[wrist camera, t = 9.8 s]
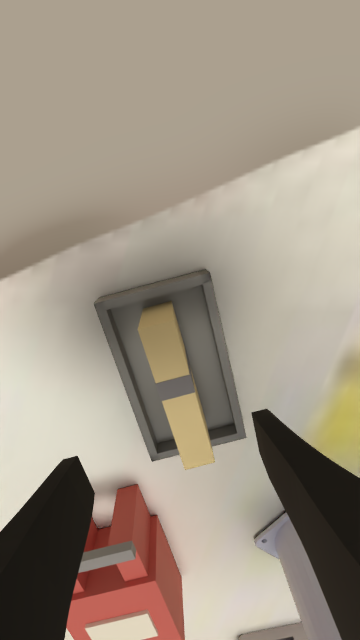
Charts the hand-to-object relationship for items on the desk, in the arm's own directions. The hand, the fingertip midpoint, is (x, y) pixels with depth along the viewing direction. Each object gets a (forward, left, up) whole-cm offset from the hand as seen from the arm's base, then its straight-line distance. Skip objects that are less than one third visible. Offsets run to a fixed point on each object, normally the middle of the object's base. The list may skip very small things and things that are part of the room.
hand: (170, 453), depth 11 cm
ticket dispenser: (+18, +9, -10) cm, 22 cm away
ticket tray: (0, +1, -10) cm, 10 cm away
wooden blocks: (0, +1, -9) cm, 9 cm away
